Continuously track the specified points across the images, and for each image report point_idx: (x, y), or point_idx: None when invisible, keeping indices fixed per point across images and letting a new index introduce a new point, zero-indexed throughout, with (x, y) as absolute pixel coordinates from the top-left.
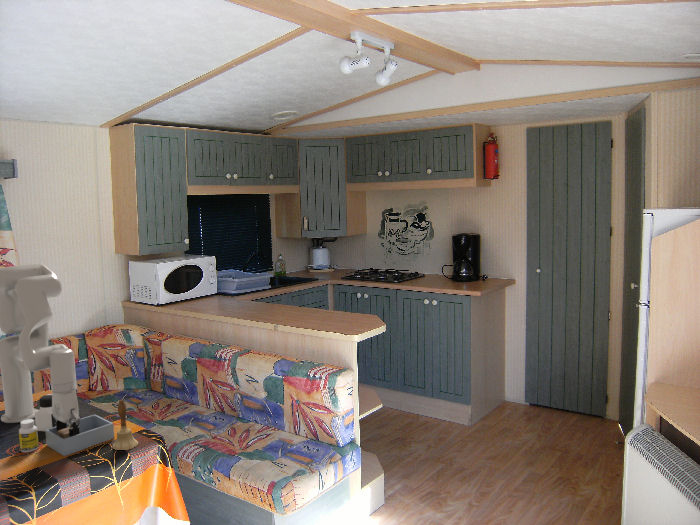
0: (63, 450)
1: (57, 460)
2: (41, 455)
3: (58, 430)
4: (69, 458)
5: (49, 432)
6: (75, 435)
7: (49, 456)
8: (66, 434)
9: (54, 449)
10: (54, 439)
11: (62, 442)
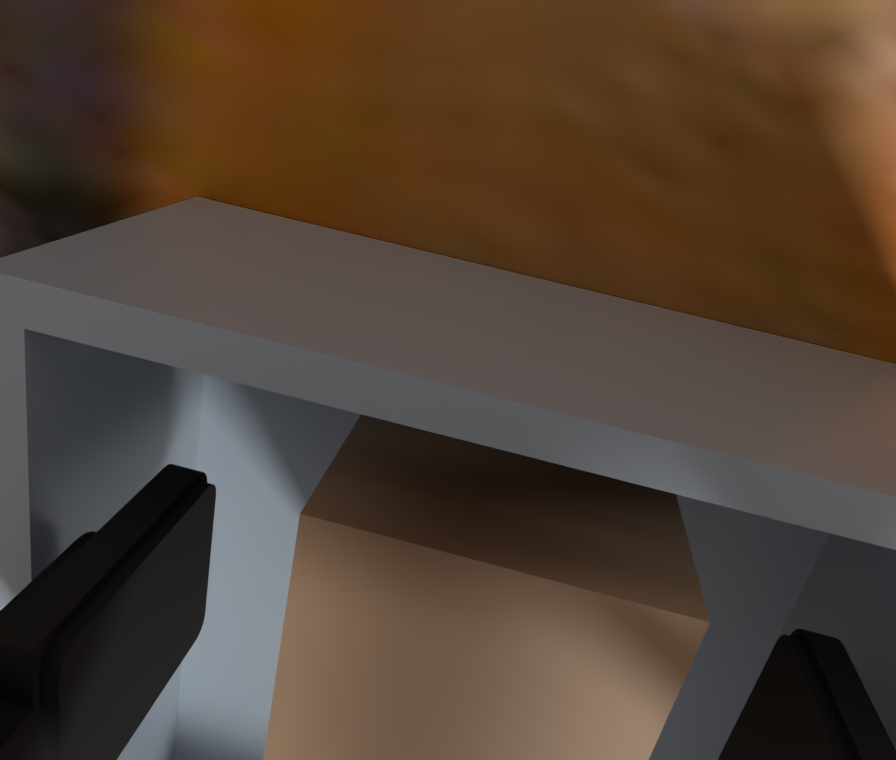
0: (153, 215)
1: (138, 18)
2: (630, 8)
3: (694, 649)
4: (49, 179)
5: (861, 486)
6: (10, 572)
7: (432, 60)
8: (294, 558)
9: (585, 292)
10: (540, 356)
11: (60, 255)
